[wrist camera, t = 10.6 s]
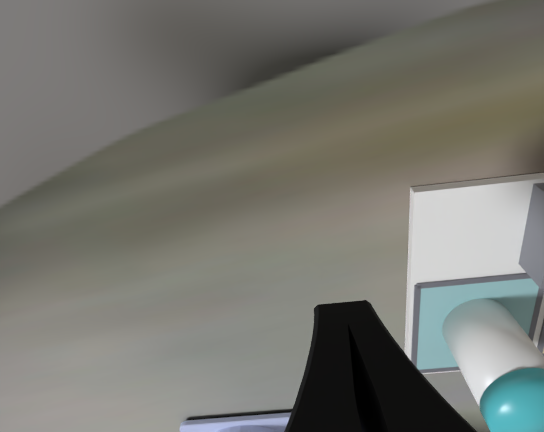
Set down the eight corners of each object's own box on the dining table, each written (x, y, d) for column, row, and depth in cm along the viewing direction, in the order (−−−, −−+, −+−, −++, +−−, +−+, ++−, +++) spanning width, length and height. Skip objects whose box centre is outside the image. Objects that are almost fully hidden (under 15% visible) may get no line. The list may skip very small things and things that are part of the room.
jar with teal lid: (512, 343, 23) (583, 443, 18) (444, 357, 24) (494, 458, 19) (509, 290, 22) (587, 383, 16) (437, 306, 22) (489, 401, 17)
